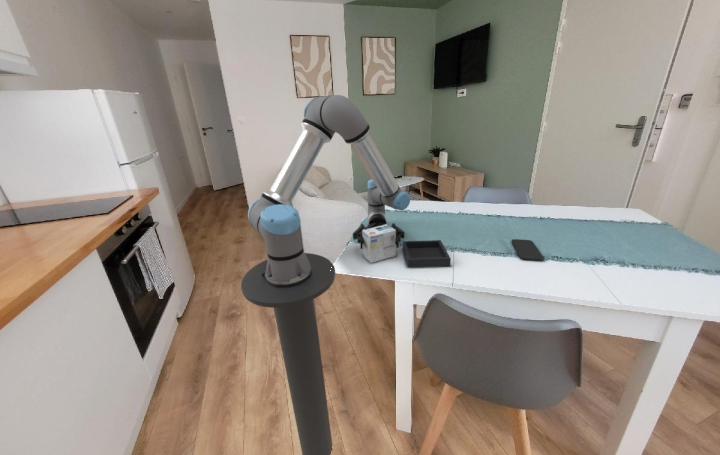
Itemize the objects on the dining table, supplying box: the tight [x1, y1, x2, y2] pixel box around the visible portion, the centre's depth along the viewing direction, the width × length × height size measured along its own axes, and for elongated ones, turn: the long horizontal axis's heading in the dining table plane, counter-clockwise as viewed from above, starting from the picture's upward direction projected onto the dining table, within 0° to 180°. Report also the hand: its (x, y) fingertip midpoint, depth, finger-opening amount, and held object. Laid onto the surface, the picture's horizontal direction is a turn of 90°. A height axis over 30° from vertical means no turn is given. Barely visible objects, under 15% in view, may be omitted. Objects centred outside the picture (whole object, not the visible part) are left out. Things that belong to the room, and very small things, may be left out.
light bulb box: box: [362, 223, 397, 264], centre depth 105 cm, size 11×7×11 cm, turn 115°
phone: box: [511, 238, 545, 262], centre depth 106 cm, size 7×1×15 cm
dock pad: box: [402, 239, 452, 268], centre depth 105 cm, size 14×14×3 cm
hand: (379, 244), depth 101 cm, fingers closed on light bulb box, 12 cm apart
